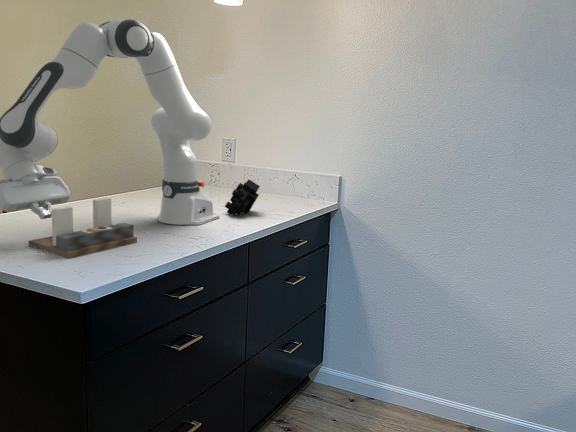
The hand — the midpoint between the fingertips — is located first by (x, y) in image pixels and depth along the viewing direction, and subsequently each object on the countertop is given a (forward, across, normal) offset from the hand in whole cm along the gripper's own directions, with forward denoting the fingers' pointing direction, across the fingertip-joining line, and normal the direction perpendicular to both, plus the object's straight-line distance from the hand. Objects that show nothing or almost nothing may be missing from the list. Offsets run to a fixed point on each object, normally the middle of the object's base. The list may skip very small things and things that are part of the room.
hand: (47, 217), depth 158 cm
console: (+10, +8, +2) cm, 13 cm away
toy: (+14, +74, -2) cm, 76 cm away
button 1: (+9, 0, 0) cm, 9 cm away
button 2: (+7, +16, +2) cm, 17 cm away
